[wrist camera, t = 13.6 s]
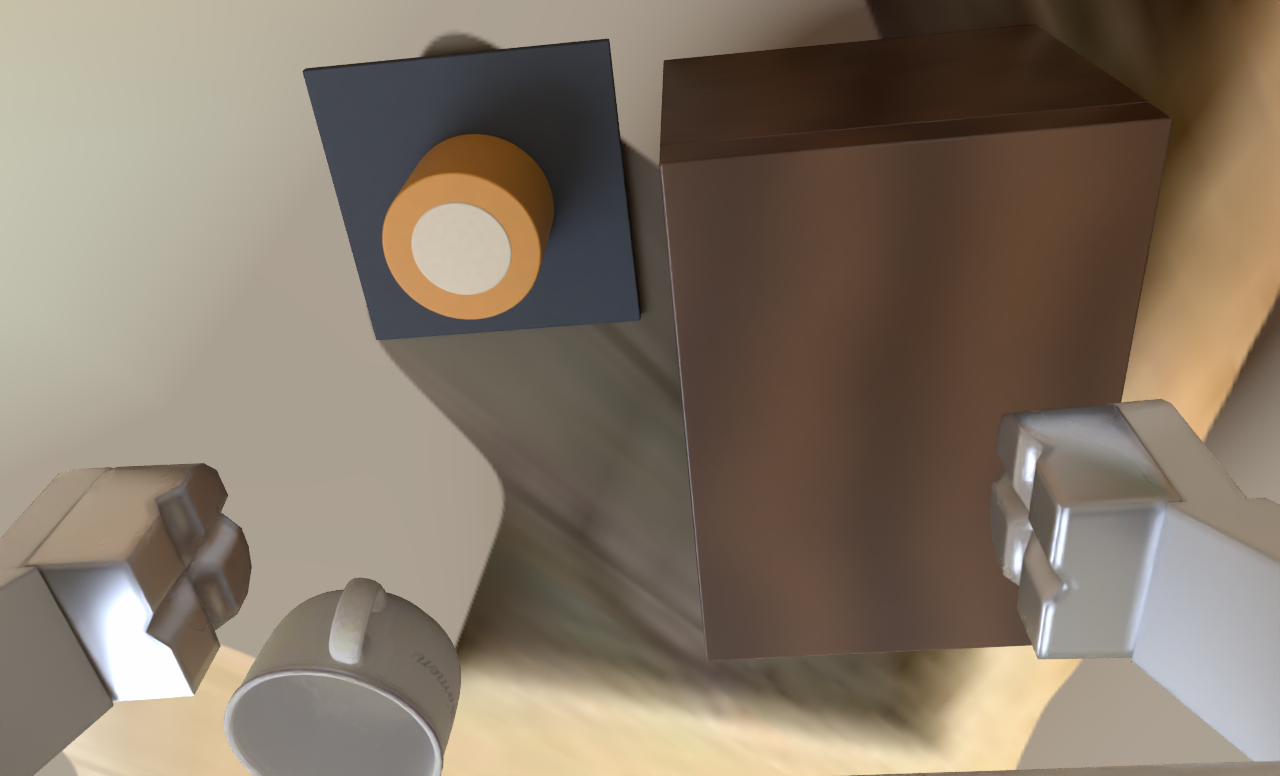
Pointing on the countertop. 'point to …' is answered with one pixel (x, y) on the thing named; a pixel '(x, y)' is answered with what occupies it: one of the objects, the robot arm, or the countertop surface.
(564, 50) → the mat
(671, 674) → the countertop surface
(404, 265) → the tape roll
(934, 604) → the shelf
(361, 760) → the teacup
